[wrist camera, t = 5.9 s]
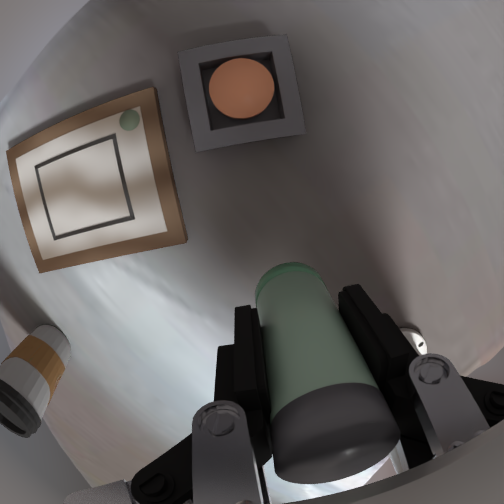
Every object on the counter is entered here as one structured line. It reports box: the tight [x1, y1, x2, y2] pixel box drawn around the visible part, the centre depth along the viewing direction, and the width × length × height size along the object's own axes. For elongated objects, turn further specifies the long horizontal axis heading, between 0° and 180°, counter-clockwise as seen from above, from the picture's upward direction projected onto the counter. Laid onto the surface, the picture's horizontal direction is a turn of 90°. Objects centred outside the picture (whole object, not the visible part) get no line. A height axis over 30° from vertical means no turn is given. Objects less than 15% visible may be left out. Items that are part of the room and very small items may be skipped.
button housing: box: [178, 34, 306, 152], centre depth 22 cm, size 9×9×3 cm
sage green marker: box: [255, 262, 401, 484], centre depth 9 cm, size 3×3×8 cm
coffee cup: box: [0, 325, 71, 438], centre depth 26 cm, size 8×8×15 cm
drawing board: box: [6, 87, 188, 273], centre depth 25 cm, size 15×19×1 cm
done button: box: [209, 58, 274, 120], centre depth 21 cm, size 5×5×2 cm
